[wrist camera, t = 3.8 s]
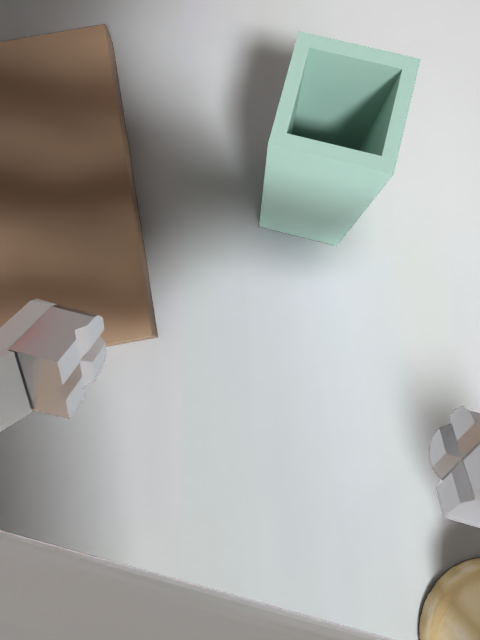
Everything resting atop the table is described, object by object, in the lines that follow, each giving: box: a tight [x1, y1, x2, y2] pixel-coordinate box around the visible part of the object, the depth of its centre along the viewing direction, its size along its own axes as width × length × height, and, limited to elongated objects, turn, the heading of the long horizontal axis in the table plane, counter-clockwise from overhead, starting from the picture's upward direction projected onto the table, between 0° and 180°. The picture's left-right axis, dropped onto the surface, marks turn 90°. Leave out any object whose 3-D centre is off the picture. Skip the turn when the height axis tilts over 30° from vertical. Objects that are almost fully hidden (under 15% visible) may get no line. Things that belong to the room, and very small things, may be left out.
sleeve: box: [259, 31, 420, 246], centre depth 19 cm, size 5×5×9 cm
